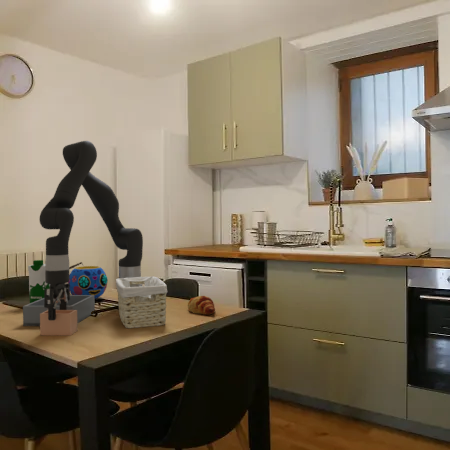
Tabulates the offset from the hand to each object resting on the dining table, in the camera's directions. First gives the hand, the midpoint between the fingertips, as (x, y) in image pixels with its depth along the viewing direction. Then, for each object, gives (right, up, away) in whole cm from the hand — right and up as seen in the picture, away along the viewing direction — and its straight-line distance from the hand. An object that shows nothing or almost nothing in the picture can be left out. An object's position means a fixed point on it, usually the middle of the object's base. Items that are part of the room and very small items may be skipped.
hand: (57, 317), depth 149 cm
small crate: (0, -5, 0) cm, 5 cm away
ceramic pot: (-8, -4, +60) cm, 61 cm away
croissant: (+46, -5, +32) cm, 56 cm away
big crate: (-6, -5, +21) cm, 22 cm away
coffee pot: (-28, -4, +81) cm, 86 cm away
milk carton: (-24, -5, +46) cm, 52 cm away
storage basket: (+24, -5, +17) cm, 30 cm away
